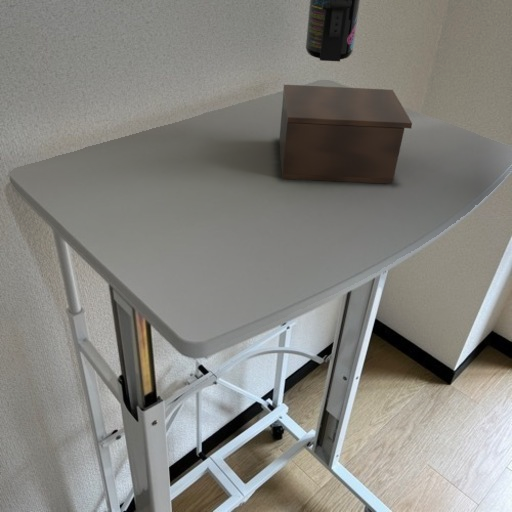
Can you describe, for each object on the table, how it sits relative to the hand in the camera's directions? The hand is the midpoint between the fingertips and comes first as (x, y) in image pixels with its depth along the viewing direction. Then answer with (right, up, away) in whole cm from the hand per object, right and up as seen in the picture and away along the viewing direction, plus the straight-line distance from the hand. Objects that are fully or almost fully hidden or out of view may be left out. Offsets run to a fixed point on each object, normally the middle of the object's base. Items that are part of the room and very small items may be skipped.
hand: (326, 51), depth 78 cm
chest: (+2, -14, +10) cm, 17 cm away
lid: (+3, -7, +5) cm, 9 cm away
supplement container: (0, 0, 0) cm, 1 cm away
